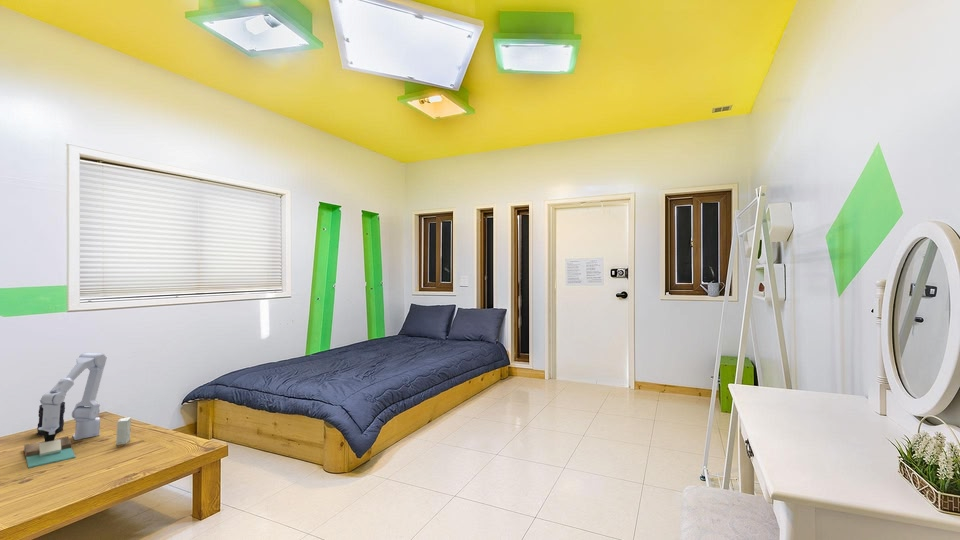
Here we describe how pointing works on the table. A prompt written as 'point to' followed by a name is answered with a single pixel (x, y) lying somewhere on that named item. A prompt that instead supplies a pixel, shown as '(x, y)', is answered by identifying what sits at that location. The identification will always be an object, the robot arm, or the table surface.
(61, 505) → the table surface
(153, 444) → the table surface
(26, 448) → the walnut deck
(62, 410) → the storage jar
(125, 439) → the skincare box
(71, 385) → the robot arm
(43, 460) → the teal mat
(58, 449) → the ceramic tile
